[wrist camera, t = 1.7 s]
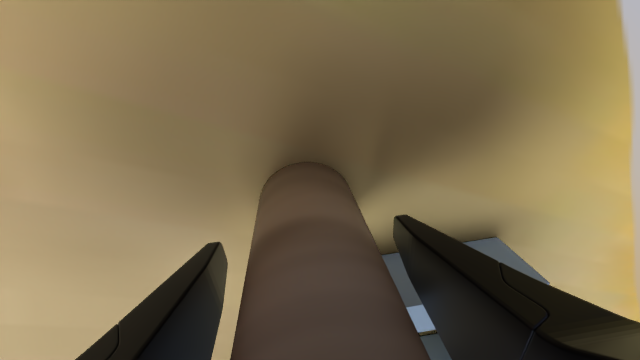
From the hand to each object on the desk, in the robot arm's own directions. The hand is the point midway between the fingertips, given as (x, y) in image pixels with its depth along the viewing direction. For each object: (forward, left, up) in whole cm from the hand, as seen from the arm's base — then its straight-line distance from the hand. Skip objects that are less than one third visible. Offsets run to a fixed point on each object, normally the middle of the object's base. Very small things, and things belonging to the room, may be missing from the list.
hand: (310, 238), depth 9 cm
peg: (0, 0, -2) cm, 2 cm away
